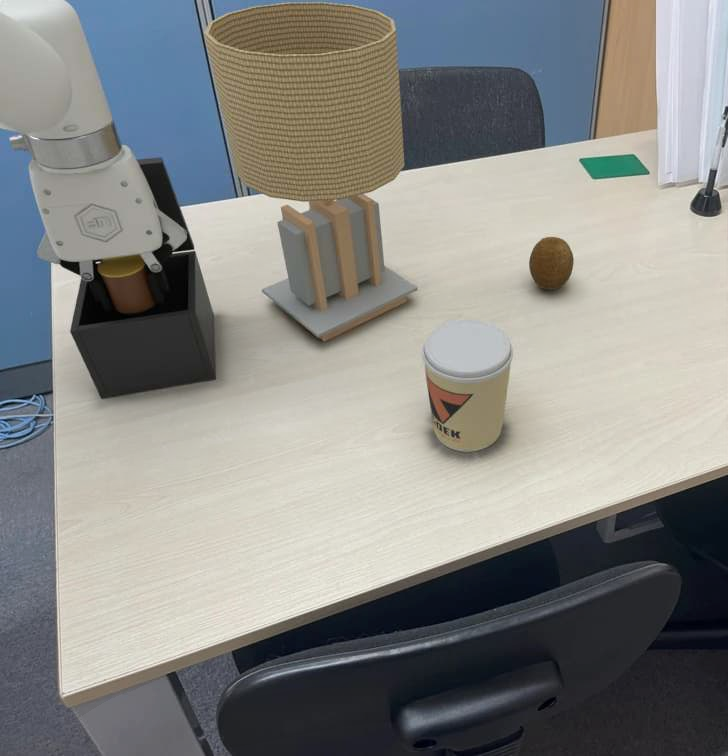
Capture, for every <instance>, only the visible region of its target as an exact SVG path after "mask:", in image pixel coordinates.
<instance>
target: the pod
mask: <svg viewBox="0 0 728 756" xmlns="http://www.w3.org/2000/svg"><path fill="white" fill-rule="evenodd" d="M98 263H99V264H98V267H97V269H98V272H99V273H100V274H101V276H102V279H103V281H104V284H105V286H106V289H107V291H108V294H109V296H110V299H111V301H112V303H113V306H114V308H115V309H116V310H117V311H118V312H121V313H125V314H133V313H139V312H142V311H145V310H147V309H149V308H151V307H153V306H154V305H155V304H156V301H155V298H154V295H153V292H152V290H151V287H150V284H149V281H148V278H147V264H146V263H145V262H144V260H143V259H142V257H141V256H140V254H137V255H130V256H122V257H115V258H107V259H103V260H102V261H101V262H98Z"/></svg>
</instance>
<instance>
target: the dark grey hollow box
mask: <svg viewBox="0 0 728 756" xmlns="http://www.w3.org/2000/svg"><path fill="white" fill-rule="evenodd" d="M99 263H100V262H96V264H97V265H98V264H99ZM162 267H163V270H164V273H165V276H166V279H167V282H168V286H169V291H168V292H164V303H161V304H158V303H156V304H155V305H154V306H153V307H151V308H149V309H147V310H145V311H142V312H139V313H133V314H125V313H121V312H118V311H117V310H116V309H115V308H114V306H113V309H111V311H105V310H104V307H103V305H102V303H101V301H98V302H96V300H95V298H94V296H93V293H92V291H91V289H90V286H89V284H88V282H87V281H84V280H82V279H81V278H80V281H79V287H78V290H77V297H76V301H75V305H74V310H73V315H72V320H71V324H70V329H69V332H70V335H71V337H72V339H73V341H74V343H75V346H76V348H77V350H78V352H79V354H80V356H81V358H82V361H83V362H84V365H85V367H86V369H87V372H88V374H89V376H90V378H91V380H92V382H93V385H94V386H95V388H96V389H95V390H97V392H98V395H99V397H100V399H101V400H103V399H108V398H114V397H120V396H125V395H126V396H127V395H131V394H137V393H144V392H149V391H156V390H161V389H166V388H173V387H178V386H184V385H191V384H196V383H200V382H207V381H212V380H216V379H217V365H216V364H217V363H216V338H215V337H216V335H215V313H214V310H213V307H212V304H211V300H210V296H209V293H208V290H207V286H206V283H205V280H204V276H203V273H202V269H201V265H200V262H199V259H198V255H197V252H196V250H189V251H181V252H173V253H172V254H171V256H170V257H169V258H168V259H167V261H166V262H165V263H164V265H163V266H162Z"/></svg>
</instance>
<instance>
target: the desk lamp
mask: <svg viewBox="0 0 728 756" xmlns="http://www.w3.org/2000/svg"><path fill="white" fill-rule="evenodd" d="M203 35H204V38H205V43H206V47H207V52H208V56H209V60H210V65H211V70H212V73H213V78H214V82H215V87H216V91H217V96H218V99H219V104H220V109H221V113H222V118H223V123H224V126H225V130H226V135H227V139H228V143H229V144H228V145H229V149H230V152H231V153H230V154H231V157H232V161H233V165H234V169H235V174H236V176H237V177H238V178H239V179H240V181H241V182H242V183H243V184H244V186H245V187H246V188H247V189H249V190H252V191H255V192H257V193H260V194H262V195H264V196H266V197H268V198H273V199H274V198H275V199H282V200H287V201H295V202H296V201H297V202H302V203H305V202H308V206H309V210H306V211H303V212H299V211H298V210H296V209H295V208H293V207H292V206H290V205H289V204H286V205H285V204H284V205H283V206H280V211H281V216H282V219H281V220H278V221H277V228H278V233H279V239H280V243H281V249H282V254H283V258H284V263H285V268H286V273H287V278H286V279H282V280H280V281H278V282H275V283H273V284H271V285H267V286H266V287H263V288H262V289H261V292H262V293H263V294H264V296H266V297H268V298H269V299H270V300H271V301H272V302H273V303H275V304H276V305H277V306H278V307H280V308H281V309H282V310H283V311H284V312H286V313H287V314H288V315H289V316H291V317H292V319H294V320H296V322H297V323H299V324H300V325H302V326H303V327H304V328H305V329H307V330H308V331H309V333H312V335H314V336H315V337H316V338H318V339H319V340H321V341H322V342H324V343H325V342H327V341H329V340H330V339H333V338H335V337H337V336H339V335H341V334H344V333H345V332H347V331H349V330H352V329H353V328H355V327H358V326H359V325H361V324H363V323H365V322H368V321H369V320H372V319H374V318H376V317H378V316H380V315H383V314H384V313H386V312H389V311H390V310H393V309H395V308H396V307H398V306H400V305H403V304H405V303H407V296H408V295H410V294H413V293H414V292H416V291H418V287H417V286H416V285H414V284H413V283H411V282H410V281H408V280H407V279H405V278H404V277H402V276H400V274H398V273H396V272H395V271H394V270H392V269H390V268H389V267H388V266H386V265H385V258H384V257H385V256H384V248H383V237H382V226H381V225H382V224H381V213H380V204H379V202H377V201H376V200H374V199H373V198H371V197H369V196H367V194H368V193H372V192H374V191H376V190H378V189H380V188H382V187H384V186H385V185H387V184H389V183H391V182H393V181H395V179H396V178H397V177H398V176H399V174H400V173H401V172H402V170H403V169H404V167H405V165H406V164H405V152H404V149H405V148H404V136H403V135H404V134H403V123H402V122H403V119H402V102H401V101H402V100H401V87H400V71H399V70H400V69H399V57H398V56H399V55H398V54H399V53H398V41H397V40H398V39H397V29H396V25H395V20H394V19H393V18H391V17H389V16H387V15H386V14H385V13H382V12H381V11H379V10H375V9H370V8H367V7H362V6H358V5H354V4H345V3H335V2H334V3H333V2H324V1H316V2H315V1H312V2H311V1H310V2H308V1H307V2H305V1H304V2H300V1H299V2H279V3H272V4H264V5H256V6H250V7H246V8H243V9H239V10H235V11H231V12H226V13H224V15H221V16H219V17H217V18H216V19H213V20H212V21H209V22H208V24H207V27H206V28H205V30H204V34H203Z"/></svg>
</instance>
